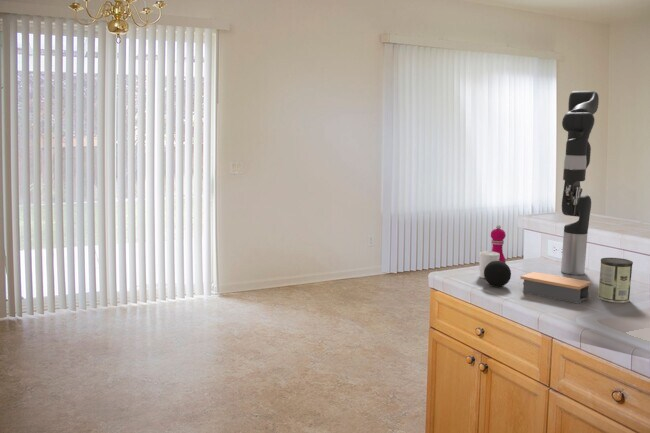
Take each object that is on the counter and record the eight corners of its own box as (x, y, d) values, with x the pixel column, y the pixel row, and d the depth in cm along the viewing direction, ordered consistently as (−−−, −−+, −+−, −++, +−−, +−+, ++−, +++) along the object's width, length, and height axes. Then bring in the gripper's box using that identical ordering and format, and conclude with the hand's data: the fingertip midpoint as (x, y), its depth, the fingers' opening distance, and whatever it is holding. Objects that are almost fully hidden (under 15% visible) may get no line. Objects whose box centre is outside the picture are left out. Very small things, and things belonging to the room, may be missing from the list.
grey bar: (524, 285, 226) (525, 279, 225) (587, 297, 210) (588, 291, 210) (521, 286, 224) (522, 280, 223) (585, 299, 209) (586, 292, 208)
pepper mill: (505, 274, 247) (508, 226, 244) (487, 273, 248) (490, 226, 245) (504, 270, 254) (506, 224, 251) (486, 269, 255) (489, 223, 252)
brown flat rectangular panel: (533, 274, 227) (533, 271, 227) (590, 284, 213) (591, 281, 213) (520, 278, 218) (520, 276, 218) (579, 289, 204) (579, 286, 204)
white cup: (494, 274, 246) (496, 251, 244) (500, 279, 238) (502, 255, 237) (475, 274, 246) (477, 251, 244) (481, 279, 238) (482, 255, 236)
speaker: (495, 281, 235) (497, 257, 233) (515, 287, 226) (517, 262, 225) (477, 284, 229) (479, 259, 228) (497, 291, 221) (498, 264, 219)
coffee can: (608, 293, 220) (611, 256, 218) (635, 300, 211) (639, 261, 209) (591, 297, 215) (594, 259, 212) (618, 304, 206) (622, 264, 204)
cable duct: (534, 287, 227) (535, 274, 226) (588, 297, 214) (589, 284, 213) (523, 292, 220) (524, 279, 219) (578, 303, 207) (579, 289, 206)
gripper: (570, 166, 225) (567, 211, 227) (557, 168, 215) (554, 215, 217) (591, 167, 220) (588, 213, 222) (579, 169, 210) (575, 217, 213)
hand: (571, 214), depth 220 cm, fingers closed
